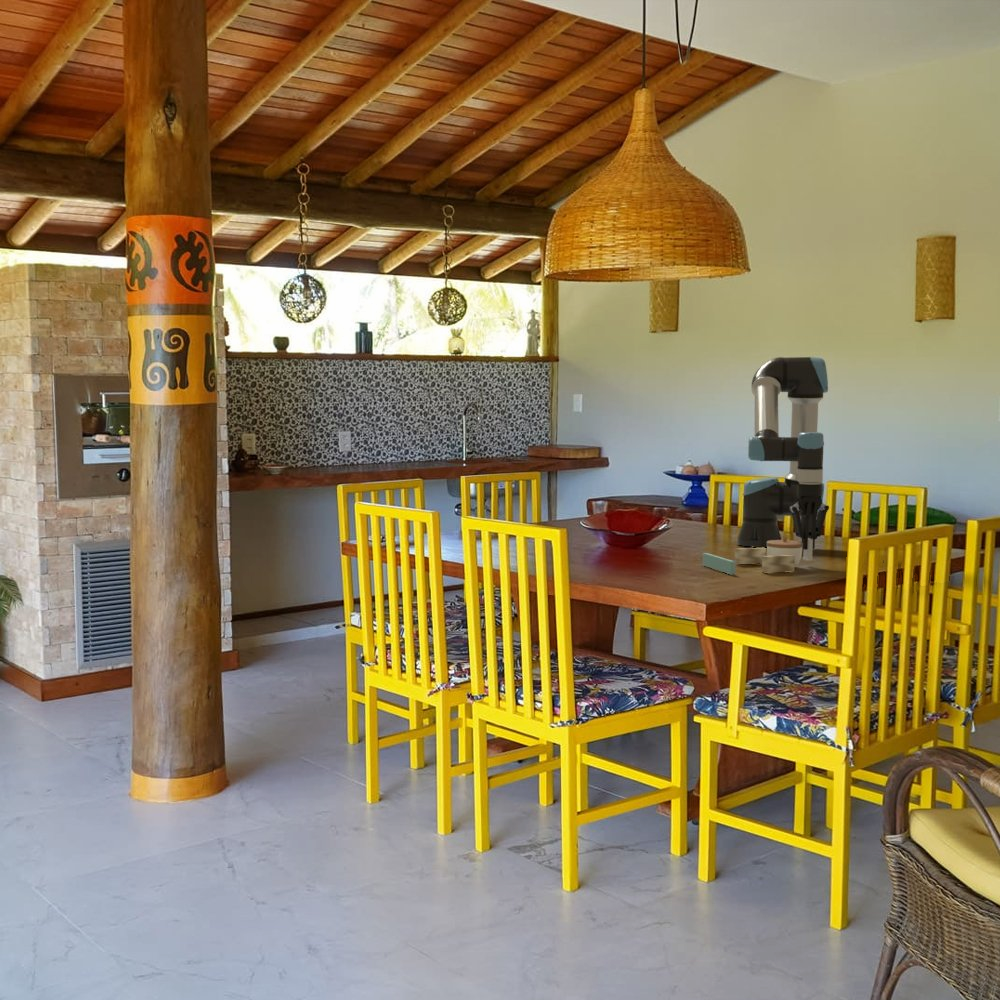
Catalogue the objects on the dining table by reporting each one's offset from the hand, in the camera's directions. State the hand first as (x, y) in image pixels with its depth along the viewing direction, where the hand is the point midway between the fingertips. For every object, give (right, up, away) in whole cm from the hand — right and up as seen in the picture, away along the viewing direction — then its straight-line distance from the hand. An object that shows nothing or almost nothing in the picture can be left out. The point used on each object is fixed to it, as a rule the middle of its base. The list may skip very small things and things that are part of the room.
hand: (807, 559), depth 356 cm
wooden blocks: (-14, -2, -4) cm, 15 cm away
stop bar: (-29, -3, -8) cm, 30 cm away
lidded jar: (-8, -2, -2) cm, 8 cm away
